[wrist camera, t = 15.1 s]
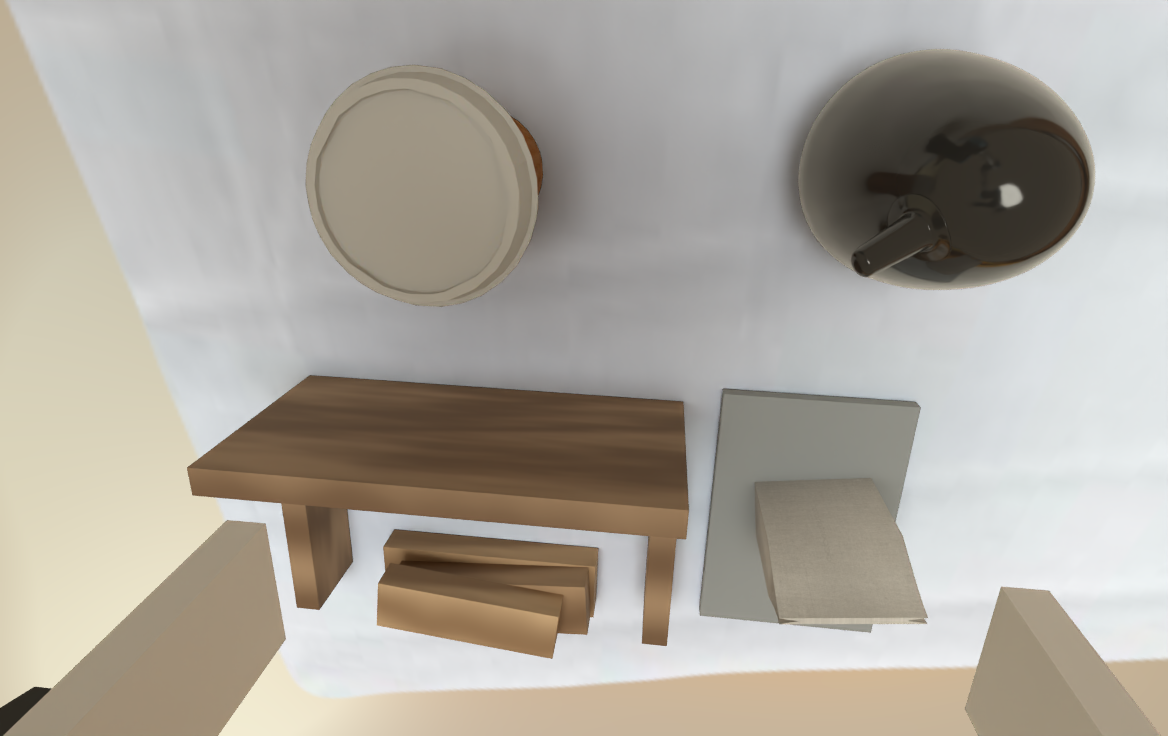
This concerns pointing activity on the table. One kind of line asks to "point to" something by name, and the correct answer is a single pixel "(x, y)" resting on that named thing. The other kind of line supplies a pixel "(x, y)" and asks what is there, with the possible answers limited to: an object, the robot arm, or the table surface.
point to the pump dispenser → (945, 171)
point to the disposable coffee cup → (423, 185)
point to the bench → (458, 469)
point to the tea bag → (834, 554)
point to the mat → (791, 478)
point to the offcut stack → (487, 590)
